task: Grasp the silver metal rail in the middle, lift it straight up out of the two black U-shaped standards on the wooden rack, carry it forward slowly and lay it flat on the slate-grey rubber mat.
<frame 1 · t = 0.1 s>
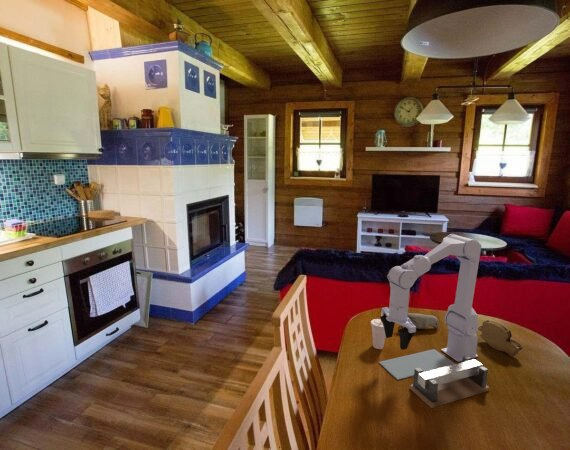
hand: (396, 342, 113), 10 cm above the table, tool pointing down, fingers open, 7 cm apart
rack: (449, 389, 106), on the table
wooden carving: (496, 349, 129), on the table
smoothie: (378, 346, 130), on the table
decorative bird: (418, 329, 143), on the table
rail: (450, 377, 105), point 4 cm above the table, touching rack
mat: (417, 364, 119), on the table
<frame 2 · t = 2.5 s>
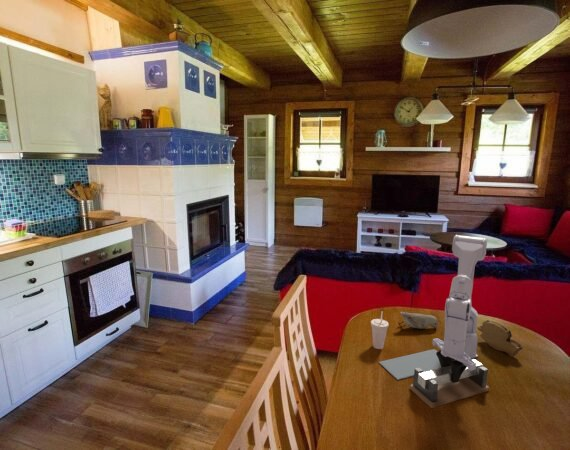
hand: (450, 378, 105), 4 cm above the table, tool pointing down, fingers closed on rail, 3 cm apart
rail: (450, 377, 105), point 4 cm above the table, touching gripper, rack
everything else where it was.
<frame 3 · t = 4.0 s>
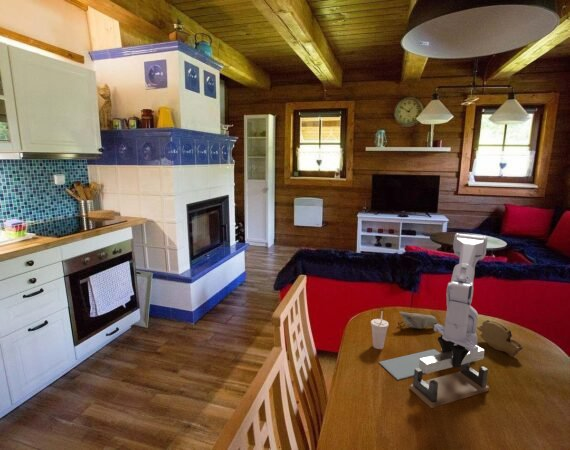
hand: (451, 363, 104), 9 cm above the table, tool pointing down, fingers closed on rail, 3 cm apart
rail: (451, 363, 104), point 9 cm above the table, touching gripper
everything else where it was.
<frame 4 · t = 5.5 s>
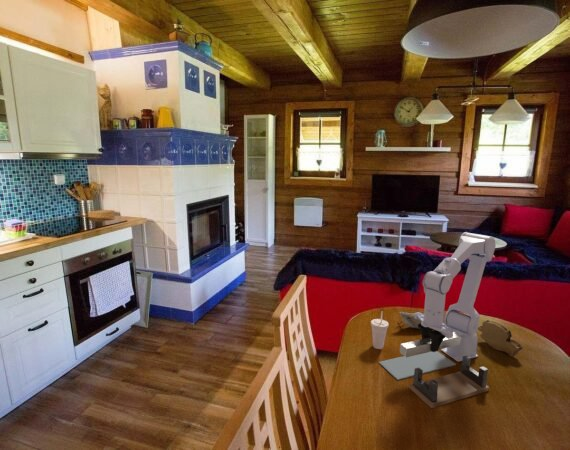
hand: (430, 348, 112), 9 cm above the table, tool pointing down, fingers closed on rail, 3 cm apart
rail: (430, 348, 112), point 9 cm above the table, touching gripper
everything else where it was.
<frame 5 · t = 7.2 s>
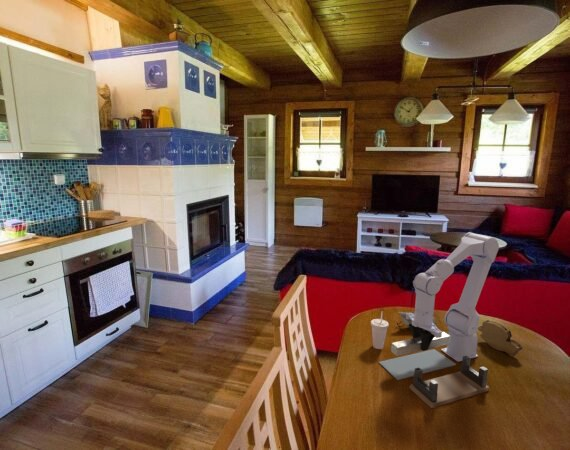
hand: (420, 347, 116), 7 cm above the table, tool pointing down, fingers closed on rail, 3 cm apart
rail: (421, 347, 116), point 7 cm above the table, touching gripper
when the fingers open (2 cm above the table, at t = 8.5 s): rail drops 2 cm, resting on mat.
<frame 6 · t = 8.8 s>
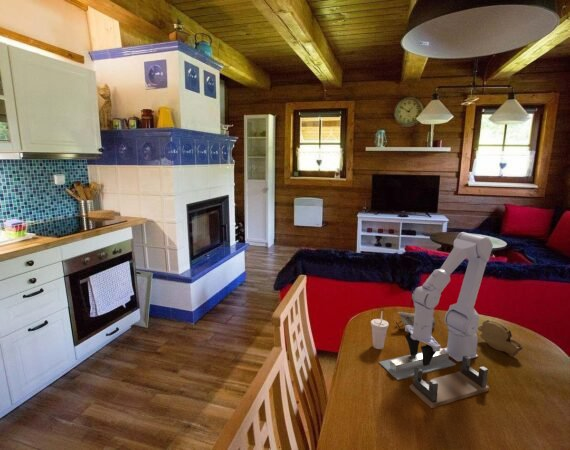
hand: (419, 359, 117), 2 cm above the table, tool pointing down, fingers open, 5 cm apart
rail: (419, 364, 118), resting on mat
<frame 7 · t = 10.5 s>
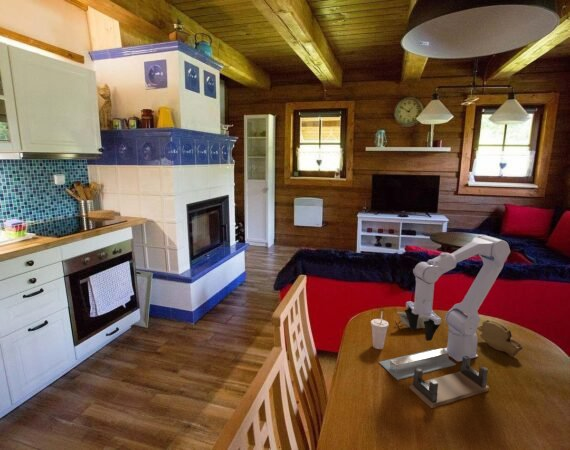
hand: (420, 334, 120), 9 cm above the table, tool pointing down, fingers open, 7 cm apart
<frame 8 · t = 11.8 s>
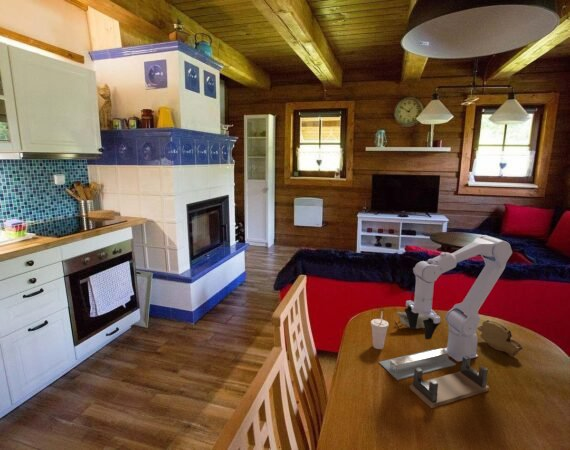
hand: (420, 333, 121), 9 cm above the table, tool pointing down, fingers open, 7 cm apart
at the end: rail inside the target area (0.5 cm from its centre), resting on mat; rail touching mat; the gripper is holding nothing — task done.
